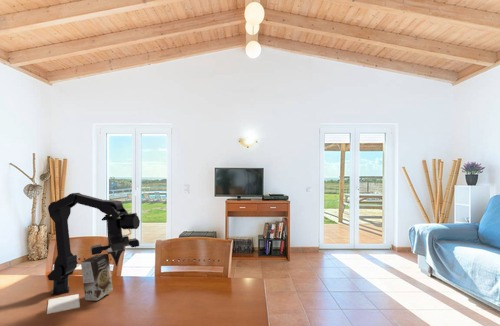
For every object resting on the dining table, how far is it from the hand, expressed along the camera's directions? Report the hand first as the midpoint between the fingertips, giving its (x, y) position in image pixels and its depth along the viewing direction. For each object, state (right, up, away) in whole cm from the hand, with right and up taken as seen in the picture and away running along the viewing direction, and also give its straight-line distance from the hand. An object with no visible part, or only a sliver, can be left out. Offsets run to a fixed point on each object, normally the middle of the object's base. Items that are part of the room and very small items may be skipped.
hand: (116, 266), depth 126 cm
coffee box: (-5, -11, -4) cm, 13 cm away
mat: (-16, -11, -11) cm, 22 cm away
